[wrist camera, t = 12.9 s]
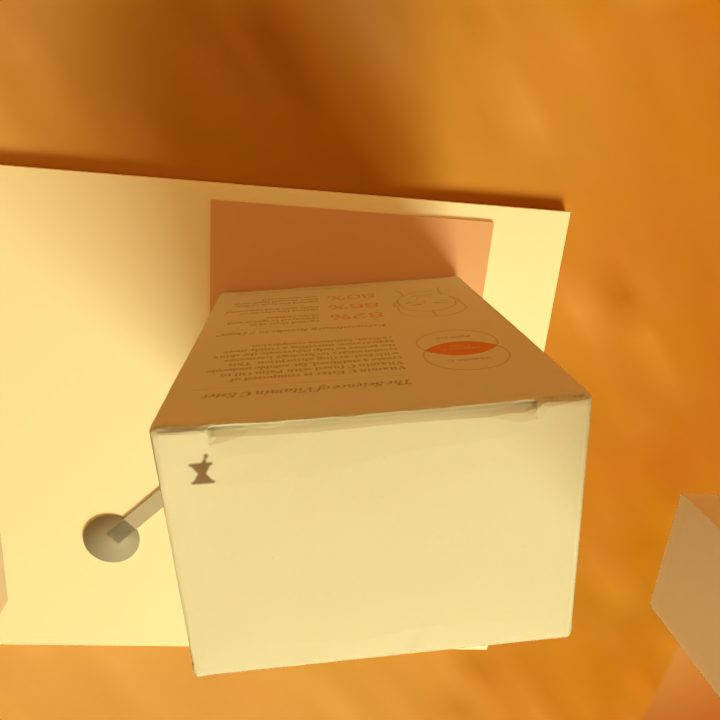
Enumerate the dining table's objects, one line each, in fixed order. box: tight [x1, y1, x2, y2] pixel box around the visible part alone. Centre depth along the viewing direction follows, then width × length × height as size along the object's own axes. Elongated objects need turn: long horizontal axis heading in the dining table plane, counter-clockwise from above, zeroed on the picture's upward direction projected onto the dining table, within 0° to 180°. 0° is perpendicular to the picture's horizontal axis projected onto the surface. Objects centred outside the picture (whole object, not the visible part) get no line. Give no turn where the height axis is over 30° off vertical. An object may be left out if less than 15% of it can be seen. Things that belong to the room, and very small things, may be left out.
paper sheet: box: [0, 164, 570, 649], centre depth 23 cm, size 22×18×1 cm
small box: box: [149, 276, 592, 677], centre depth 17 cm, size 8×6×10 cm
